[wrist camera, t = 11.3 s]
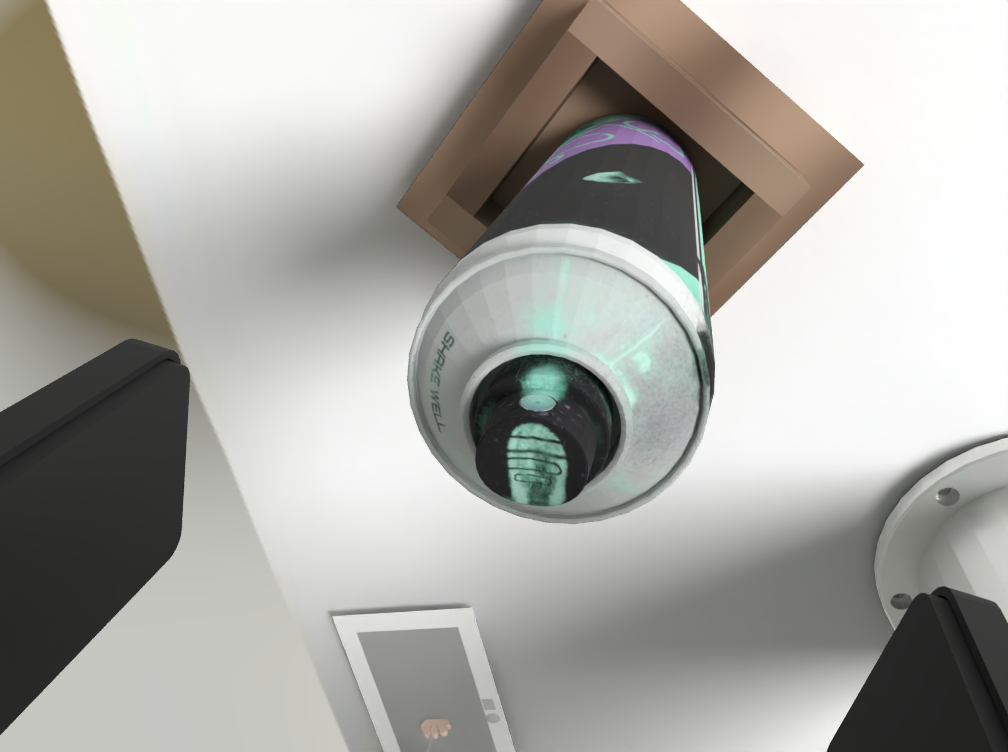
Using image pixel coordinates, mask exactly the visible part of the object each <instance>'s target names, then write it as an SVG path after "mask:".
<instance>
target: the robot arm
mask: <svg viewBox="0 0 1008 752" xmlns="http://www.w3.org/2000/svg"><path fill="white" fill-rule="evenodd" d="M189 386H190V373H189V370H188V368H187V367H186V366H184V365H181V364H180V359H179V356H178V354H177V353H176V352H175V351H173V350H169V349H166V348H163V347H160V346H157V345H153V344H150V343H147V342H143V341H140V340H137V339H128V340H126V341H124V342H122V343H120V344H118V345H117V346H115V347H113V348H111V349H110V350H108V351H106V352H104V353H103V354H101V355H99V356H97V357H96V358H94V359H92V360H91V361H89V362H87V363H85V364H83V365H82V366H80V367H78V368H76V369H75V370H73V371H71V372H70V373H68V374H66V375H64V376H63V377H61V378H59V379H57V380H56V381H54V382H52V383H50V384H49V385H47V386H45V387H43V388H42V389H40V390H38V391H37V392H35V393H33V394H32V395H29V396H28V397H26V398H24V399H22V400H21V401H19V402H17V403H16V404H14V405H12V406H10V407H8V408H7V409H5V410H3V411H2V412H0V735H1V734H2V733H3V732H4V731H5V729H7V728H8V726H9V725H10V724H11V723H12V722H13V721H14V720H15V719H16V718H17V717H18V716H19V715H20V714H21V713H22V712H23V711H24V710H25V709H26V708H27V707H28V705H29V704H30V703H31V702H33V700H34V699H35V698H36V697H37V696H38V695H39V694H40V693H41V692H42V691H43V690H44V689H45V688H46V687H47V686H48V685H49V684H50V683H51V682H52V681H53V680H54V678H56V676H57V675H58V674H59V673H60V672H61V671H62V670H63V669H64V668H65V667H66V666H67V665H68V664H69V663H70V662H71V661H72V660H73V659H74V658H75V657H76V656H77V655H78V654H79V653H80V652H81V650H82V649H83V648H84V647H85V646H86V645H87V644H88V643H89V642H90V641H91V640H92V639H93V638H94V637H95V636H96V635H97V634H98V633H99V632H100V631H101V630H102V629H103V627H104V626H106V624H107V623H108V622H109V621H110V620H111V619H112V618H113V617H114V616H115V615H116V614H117V613H118V612H119V611H120V610H121V609H122V608H123V607H124V606H125V605H126V604H127V603H128V602H129V601H130V600H131V598H132V597H133V596H134V595H135V594H136V593H137V592H138V591H139V590H140V589H141V588H142V587H143V586H144V585H145V584H146V583H147V582H148V581H149V580H150V579H151V578H152V577H153V576H154V575H155V573H156V572H157V571H158V570H159V569H160V568H161V567H162V566H163V565H164V564H165V563H166V562H167V561H168V560H169V559H170V557H171V556H172V555H173V553H174V551H175V550H176V548H177V545H178V543H179V540H180V537H181V530H182V512H183V496H184V477H185V459H186V441H187V423H188V404H189ZM874 569H875V579H876V587H877V591H878V594H879V597H880V600H881V603H882V607H883V609H884V611H885V613H886V615H887V617H888V619H889V621H890V623H891V625H892V627H893V629H894V630H895V631H894V633H893V635H892V637H891V638H890V640H889V642H888V644H887V645H886V647H885V649H884V651H883V652H882V654H881V656H880V658H879V659H878V661H877V663H876V664H875V666H874V668H873V670H872V671H871V673H870V675H869V677H868V678H867V680H866V682H865V684H864V685H863V687H862V689H861V690H860V692H859V694H858V696H857V697H856V699H855V701H854V703H853V704H852V706H851V708H850V710H849V711H848V713H847V715H846V717H845V718H844V720H843V722H842V723H841V725H840V727H839V729H838V730H837V732H836V734H835V736H834V737H833V739H832V741H831V743H830V745H829V747H828V749H827V752H1008V438H1004V439H1001V440H998V441H994V442H991V443H988V444H984V445H981V446H978V447H975V448H973V449H971V450H969V451H967V452H964V453H962V454H960V455H958V456H956V457H954V458H952V459H950V460H948V461H946V462H944V463H943V464H942V465H940V466H939V467H937V468H936V469H934V470H933V471H931V472H930V473H928V474H927V475H926V476H924V477H923V478H921V479H920V480H919V481H918V482H917V483H916V484H915V485H914V486H913V487H912V488H911V489H910V490H909V491H908V492H907V493H906V494H905V495H904V496H903V497H902V498H901V499H900V501H899V502H898V504H897V505H896V507H895V508H894V510H893V511H892V513H891V514H890V515H889V517H888V518H887V520H886V522H885V525H884V527H883V530H882V532H881V535H880V537H879V540H878V542H877V549H876V555H875V562H874Z"/></svg>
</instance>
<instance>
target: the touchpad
mask: <svg viewBox="0 0 1008 752" xmlns="http://www.w3.org/2000/svg"><path fill="white" fill-rule="evenodd" d="M332 618H333V620H334V623H335V625H336V628H337V631H338V633H339V636H340V639H341V641H342V644H343V647H344V649H345V652H346V654H347V657H348V660H349V662H350V665H351V668H352V670H353V673H354V675H355V678H356V681H357V683H358V686H359V689H360V691H361V694H362V696H363V699H364V702H365V704H366V707H367V710H368V712H369V715H370V717H371V720H372V723H373V725H374V728H375V731H376V733H377V736H378V738H379V741H380V744H381V746H382V749H383V752H515V748H514V745H513V742H512V738H511V735H510V732H509V728H508V725H507V722H506V718H505V715H504V712H503V708H502V705H501V702H500V698H499V695H498V692H497V688H496V685H495V682H494V678H493V675H492V672H491V669H490V665H489V662H488V659H487V655H486V652H485V649H484V645H483V642H482V639H481V635H480V632H479V629H478V625H477V622H476V619H475V615H474V612H473V609H472V608H458V609H442V610H426V611H409V612H393V613H376V614H360V615H343V616H332Z"/></svg>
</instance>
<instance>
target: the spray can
mask: <svg viewBox="0 0 1008 752" xmlns="http://www.w3.org/2000/svg"><path fill="white" fill-rule="evenodd" d="M714 378H715V360H714V349H713V339H712V329H711V318H710V308H709V298H708V287H707V277H706V267H705V256H704V246H703V235H702V225H701V215H700V204H699V194H698V184H697V178H696V172H695V168H694V165H693V163H692V160H691V158H690V155H689V153H688V151H687V150H686V148H685V147H684V145H683V144H682V142H681V141H680V140H679V139H678V138H677V137H676V136H675V135H674V134H673V133H672V132H671V131H670V130H669V129H668V128H666V127H665V126H663V125H661V124H660V123H658V122H657V121H654V120H652V119H649V118H646V117H644V116H640V115H633V114H611V115H607V116H603V117H600V118H596V119H594V120H592V121H590V122H588V123H586V124H584V125H582V126H581V127H579V128H578V129H577V130H575V131H574V132H573V133H571V134H570V135H569V136H568V137H567V138H566V139H565V141H564V142H563V143H562V144H561V145H560V146H559V147H558V148H557V150H556V151H555V152H554V153H553V154H552V155H551V157H550V158H549V159H548V160H547V161H546V162H545V163H544V165H543V166H542V167H541V168H540V169H539V170H538V171H537V173H536V174H535V175H534V176H533V177H532V178H531V179H530V181H529V182H528V183H527V184H526V185H525V186H524V188H523V189H522V190H521V191H520V192H519V193H518V194H517V196H516V197H515V198H514V199H513V200H512V201H511V202H510V204H509V205H508V206H507V207H506V208H505V209H504V211H503V212H502V213H501V214H500V215H499V216H498V217H497V219H496V220H495V221H494V222H493V223H492V224H491V225H490V227H489V228H488V229H487V230H486V231H485V232H484V233H483V235H482V236H481V237H480V238H479V239H478V240H477V242H476V243H475V244H474V245H473V246H472V247H471V248H470V250H469V251H468V252H467V253H466V254H465V255H464V256H463V258H462V259H461V260H460V261H459V262H458V263H457V264H456V266H455V267H454V268H453V269H452V270H451V271H450V273H449V274H448V275H447V276H446V277H445V278H444V279H443V281H442V282H441V283H440V284H439V285H438V286H437V288H436V290H435V292H434V294H433V295H432V297H431V299H430V301H429V303H428V304H427V306H426V308H425V310H424V313H423V316H422V319H421V322H420V323H419V325H418V327H417V330H416V333H415V336H414V339H413V343H412V346H411V349H410V353H409V364H408V376H407V382H408V389H409V397H410V405H411V408H412V411H413V414H414V417H415V420H416V423H417V426H418V429H419V431H420V433H421V435H422V437H423V438H424V440H425V442H426V444H427V446H428V447H429V449H430V451H431V453H432V454H433V455H434V457H435V458H436V459H437V460H438V461H439V463H440V464H441V465H442V466H443V467H444V469H445V470H446V471H447V472H448V473H449V475H451V476H452V477H453V478H454V479H455V480H456V481H458V482H459V483H460V484H461V485H462V486H463V487H465V488H466V489H467V490H468V491H469V492H471V493H472V494H474V495H476V496H477V497H479V498H481V499H482V500H484V501H486V502H487V503H489V504H491V505H492V506H494V507H497V508H499V509H502V510H504V511H507V512H509V513H512V514H514V515H517V516H520V517H524V518H529V519H533V520H538V521H542V522H549V523H568V524H576V523H585V522H594V521H602V520H605V519H608V518H612V517H615V516H618V515H621V514H625V513H628V512H630V511H632V510H634V509H636V508H638V507H639V506H641V505H643V504H645V503H647V502H649V501H651V500H652V499H654V498H655V497H656V496H658V495H659V494H660V493H661V492H663V491H664V490H665V489H666V488H668V487H669V486H670V485H671V484H673V482H674V481H675V480H676V479H677V478H678V476H679V475H680V474H681V473H682V472H683V470H684V469H685V468H686V467H687V466H688V464H689V463H690V461H691V460H692V458H693V456H694V454H695V452H696V450H697V448H698V446H699V444H700V442H701V440H702V438H703V434H704V430H705V427H706V423H707V419H708V415H709V410H710V406H711V402H712V399H713V395H714Z"/></svg>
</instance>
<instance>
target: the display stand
mask: <svg viewBox="0 0 1008 752" xmlns="http://www.w3.org/2000/svg"><path fill="white" fill-rule="evenodd" d="M611 114H633V115H640V116H644V117H646V118H649V119H652V120H654V121H657V122H658V123H660V124H661V125H663V126H665V127H666V128H668V129H669V130H670V131H671V132H672V133H673V134H674V135H675V136H676V137H677V138H678V139H679V140H680V141H681V142H682V144H683V145H684V147H685V148H686V150H687V151H688V153H689V155H690V158H691V160H692V163H693V165H694V168H695V172H696V178H697V184H698V194H699V204H700V215H701V225H702V235H703V246H704V256H705V267H706V277H707V287H708V298H709V308H710V317H711V316H712V315H713V314H714V313H715V312H716V311H717V310H718V309H719V308H720V307H722V306H723V305H724V304H725V303H726V302H727V301H728V300H729V299H730V298H731V297H732V296H733V295H734V294H735V293H736V292H737V291H738V290H739V289H740V288H741V287H742V286H743V285H744V284H745V283H746V282H747V281H748V280H749V279H750V278H751V277H752V276H753V275H754V274H755V273H756V272H757V271H758V270H759V269H760V268H761V267H762V266H763V265H764V264H765V263H766V262H767V261H768V260H769V259H770V258H771V257H772V256H773V255H774V254H775V253H776V252H777V251H778V250H779V249H780V248H781V247H782V246H783V245H784V244H785V243H786V242H787V241H788V240H789V239H790V238H791V237H792V236H793V235H794V234H795V233H796V232H797V231H798V230H799V229H800V228H801V227H802V226H803V225H804V224H805V223H806V222H807V221H808V220H809V219H810V218H811V217H812V216H813V215H814V214H815V213H816V212H817V211H818V210H819V209H820V208H821V207H822V206H823V205H824V204H825V203H826V202H827V201H828V200H829V199H830V198H831V197H832V196H833V195H834V194H835V193H836V192H837V191H838V190H839V189H840V188H842V187H843V186H844V185H845V184H846V183H847V182H848V181H849V180H850V179H851V178H852V177H853V176H854V175H855V174H856V173H857V172H858V171H859V170H860V169H861V168H862V167H863V166H864V164H863V163H862V162H861V161H859V160H858V159H857V158H856V157H855V156H854V155H853V154H852V153H850V152H849V151H848V150H847V149H846V148H845V147H844V146H843V145H841V144H840V143H839V142H838V141H837V140H836V139H835V138H834V137H833V136H831V135H830V134H829V133H828V132H827V131H826V130H825V129H824V128H822V127H821V126H820V125H819V124H818V123H817V122H816V121H815V120H813V119H812V118H811V117H810V116H809V115H808V114H807V113H806V112H804V111H803V110H802V109H801V108H800V107H799V106H798V105H797V104H796V103H794V102H793V101H792V100H791V99H790V98H789V97H788V96H787V95H785V94H784V93H783V92H782V91H781V90H780V89H779V88H778V87H776V86H775V85H774V84H773V83H772V82H771V81H770V80H769V79H767V78H766V77H765V76H764V75H763V74H762V73H761V72H760V71H759V70H757V69H756V68H755V67H754V66H753V65H752V64H751V63H750V62H748V61H747V60H746V59H745V58H744V57H743V56H742V55H741V54H739V53H738V52H737V51H736V50H735V49H734V48H733V47H732V46H730V45H729V44H728V43H727V42H726V41H725V40H724V39H723V38H722V37H720V36H719V35H718V34H717V33H716V32H715V31H714V30H713V29H711V28H710V27H709V26H708V25H707V24H706V23H705V22H704V21H702V20H701V19H700V18H699V17H698V16H697V15H696V14H695V13H693V12H692V11H691V10H690V9H689V8H688V7H687V6H686V5H685V4H683V3H682V2H681V1H680V0H543V1H542V2H541V4H540V5H539V6H538V8H537V9H536V11H535V12H534V13H533V15H532V16H531V18H530V19H529V20H528V22H527V23H526V25H525V26H524V27H523V29H522V30H521V32H520V33H519V35H518V36H517V37H516V39H515V40H514V42H513V43H512V44H511V46H510V47H509V49H508V50H507V51H506V53H505V54H504V56H503V57H502V58H501V60H500V61H499V63H498V64H497V66H496V67H495V68H494V70H493V71H492V73H491V74H490V75H489V77H488V78H487V80H486V81H485V82H484V84H483V85H482V87H481V88H480V89H479V91H478V92H477V94H476V95H475V96H474V98H473V99H472V101H471V102H470V104H469V105H468V106H467V108H466V109H465V111H464V112H463V113H462V115H461V116H460V118H459V119H458V120H457V122H456V123H455V125H454V126H453V127H452V129H451V130H450V132H449V133H448V135H447V136H446V137H445V139H444V140H443V142H442V143H441V144H440V146H439V147H438V149H437V150H436V151H435V153H434V154H433V156H432V157H431V158H430V160H429V161H428V163H427V164H426V166H425V167H424V168H423V170H422V171H421V173H420V174H419V175H418V177H417V178H416V180H415V181H414V182H413V184H412V185H411V187H410V188H409V189H408V191H407V192H406V194H405V195H404V197H403V198H402V199H401V201H400V202H399V204H398V205H397V206H396V207H397V208H398V209H399V210H400V211H402V212H403V213H404V214H405V215H407V216H408V217H409V218H410V219H411V220H413V221H414V222H415V223H416V224H418V225H419V226H420V227H421V228H423V229H424V230H425V231H426V232H428V233H429V234H430V235H431V236H432V237H434V238H435V239H436V240H437V241H439V242H440V243H441V244H442V245H444V246H445V247H446V248H447V249H448V250H450V251H451V252H452V253H453V254H455V255H456V256H457V257H458V258H460V259H462V258H463V256H464V255H465V254H466V253H467V252H468V251H469V250H470V248H471V247H472V246H473V245H474V244H475V243H476V242H477V240H478V239H479V238H480V237H481V236H482V235H483V233H484V232H485V231H486V230H487V229H488V228H489V227H490V225H491V224H492V223H493V222H494V221H495V220H496V219H497V217H498V216H499V215H500V214H501V213H502V212H503V211H504V209H505V208H506V207H507V206H508V205H509V204H510V202H511V201H512V200H513V199H514V198H515V197H516V196H517V194H518V193H519V192H520V191H521V190H522V189H523V188H524V186H525V185H526V184H527V183H528V182H529V181H530V179H531V178H532V177H533V176H534V175H535V174H536V173H537V171H538V170H539V169H540V168H541V167H542V166H543V165H544V163H545V162H546V161H547V160H548V159H549V158H550V157H551V155H552V154H553V153H554V152H555V151H556V150H557V148H558V147H559V146H560V145H561V144H562V143H563V142H564V141H565V139H566V138H567V137H568V136H569V135H570V134H571V133H573V132H574V131H575V130H577V129H578V128H579V127H581V126H582V125H584V124H586V123H588V122H590V121H592V120H594V119H596V118H600V117H603V116H607V115H611Z"/></svg>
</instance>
